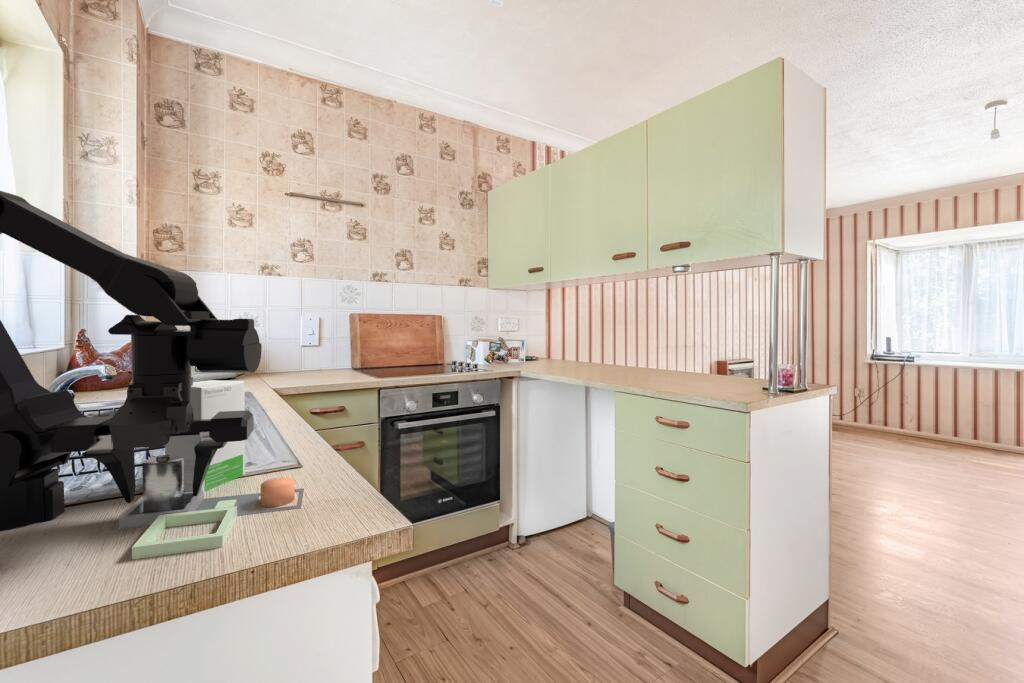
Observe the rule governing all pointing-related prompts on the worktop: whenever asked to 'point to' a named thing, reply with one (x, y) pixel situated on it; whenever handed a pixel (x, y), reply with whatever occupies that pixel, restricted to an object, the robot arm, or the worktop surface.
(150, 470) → the cell
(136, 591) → the worktop surface
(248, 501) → the checker plate
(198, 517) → the pale green square tray
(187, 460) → the skincare box
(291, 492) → the cylinder
